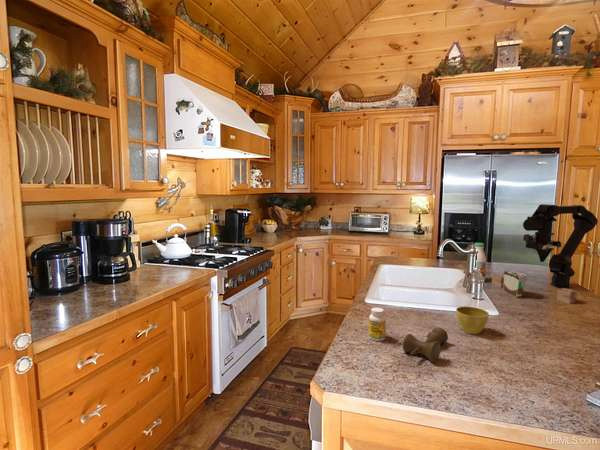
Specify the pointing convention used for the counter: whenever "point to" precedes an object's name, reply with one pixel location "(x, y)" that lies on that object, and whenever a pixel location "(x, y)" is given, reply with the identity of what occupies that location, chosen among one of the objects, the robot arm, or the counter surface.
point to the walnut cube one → (498, 280)
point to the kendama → (426, 344)
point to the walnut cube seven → (566, 295)
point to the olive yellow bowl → (472, 319)
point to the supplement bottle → (377, 324)
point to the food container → (514, 283)
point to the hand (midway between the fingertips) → (542, 261)
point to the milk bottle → (481, 258)
